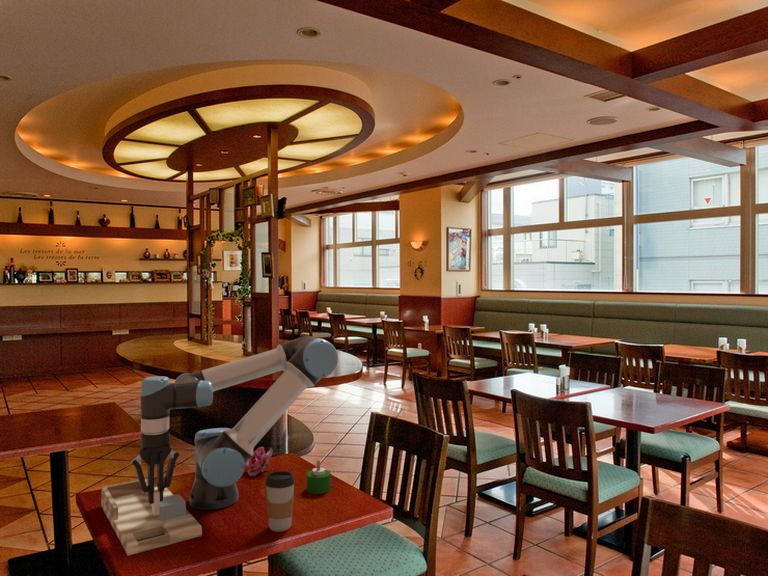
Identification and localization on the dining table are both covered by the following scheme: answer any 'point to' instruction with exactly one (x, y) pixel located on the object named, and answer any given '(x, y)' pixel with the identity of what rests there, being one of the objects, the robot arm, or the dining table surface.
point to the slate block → (172, 507)
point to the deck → (143, 519)
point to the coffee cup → (280, 499)
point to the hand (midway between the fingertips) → (155, 513)
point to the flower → (259, 461)
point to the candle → (318, 480)
